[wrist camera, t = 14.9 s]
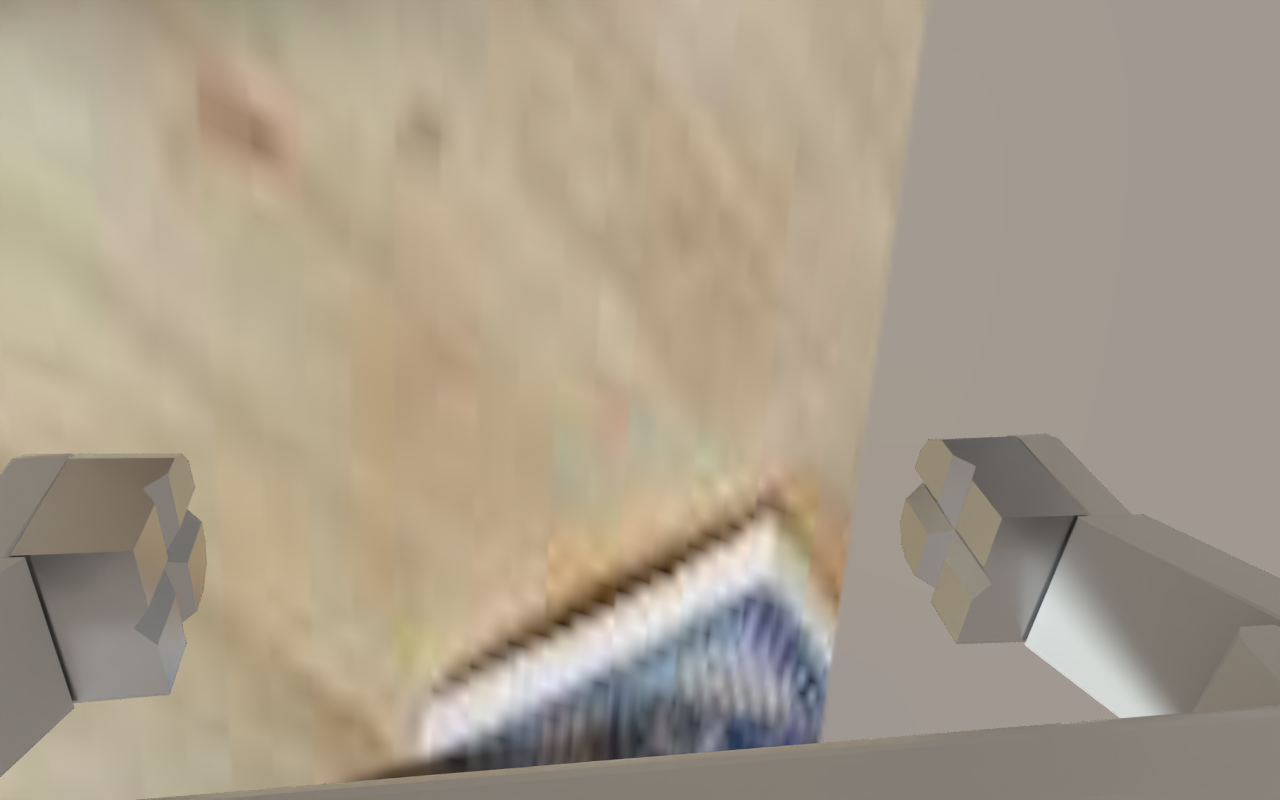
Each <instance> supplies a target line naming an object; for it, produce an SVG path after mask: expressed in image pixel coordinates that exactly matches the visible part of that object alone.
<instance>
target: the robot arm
mask: <svg viewBox="0 0 1280 800" xmlns="http://www.w3.org/2000/svg"><path fill="white" fill-rule="evenodd" d="M915 470H916V471H917V473H918V475H919V477H920V479H921V481H922V484H921V485H920V486H919V487H918V488H917V489H916V490H915V491H914V492H912V494H910V495H909V496H908V497H907V498H906V501H905V504H904V508H903V513H902V516H901V520H900V527H901V545H902V548H903V551H904V555H905V558H906V561H907V562H908V564H909V566H910V568H911V569H912V571H913V573H914V575H915V576H917V577H918V578H920V579H921V580H923V581H925V582H926V583H928V584H929V585H931V586H932V587H934V588H935V591H934V594H933V597H932V601H931V603H932V605H933V607H934V608H935V610H936V612H937V613H938V615H939V617H940V618H941V620H942V622H943V623H944V625H945V626H946V628H947V630H948V631H949V633H950V635H951V636H952V638H953V640H954V641H955V643H956V644H974V643H1001V642H1026V643H1025V646H1027V647H1028V648H1029V649H1030V650H1032V651H1033V652H1034V653H1036V654H1037V655H1038V656H1040V657H1041V658H1042V659H1043V660H1045V661H1046V662H1047V663H1049V664H1050V665H1051V666H1053V667H1054V668H1055V669H1057V670H1058V671H1059V672H1060V673H1062V674H1063V675H1065V676H1066V677H1067V678H1068V679H1070V680H1071V681H1072V682H1074V683H1075V684H1076V685H1077V686H1079V687H1080V688H1081V689H1083V690H1084V691H1086V692H1087V693H1088V694H1089V695H1091V696H1092V697H1093V698H1094V699H1096V700H1097V701H1098V702H1100V703H1101V704H1102V705H1104V706H1105V707H1106V708H1108V709H1109V710H1110V711H1111V712H1113V713H1114V714H1116V715H1117V716H1118V717H1119V718H1117V719H1105V720H1093V721H1081V722H1069V723H1057V724H1045V725H1034V726H1022V727H1009V728H996V729H984V730H972V731H961V732H948V733H936V734H924V735H912V736H900V737H888V738H876V739H865V740H852V741H839V742H827V743H815V744H802V745H790V746H778V747H765V748H753V749H741V750H729V751H716V752H704V753H692V754H679V755H667V756H655V757H643V758H630V759H618V760H606V761H594V762H581V763H569V764H557V765H545V766H533V767H521V768H509V769H497V770H485V771H474V772H462V773H450V774H438V775H426V776H414V777H402V778H390V779H379V780H367V781H355V782H343V783H331V784H319V785H307V786H296V787H284V788H272V789H260V790H248V791H236V792H224V793H213V794H201V795H189V796H176V797H164V798H151V799H138V800H1280V578H1278V577H1276V576H1274V575H1272V574H1270V573H1268V572H1265V571H1263V570H1261V569H1259V568H1257V567H1255V566H1253V565H1250V564H1248V563H1246V562H1244V561H1242V560H1240V559H1238V558H1236V557H1234V556H1231V555H1229V554H1227V553H1225V552H1223V551H1221V550H1219V549H1217V548H1214V547H1212V546H1210V545H1208V544H1206V543H1204V542H1201V541H1200V540H1197V539H1195V538H1193V537H1191V536H1189V535H1187V534H1185V533H1183V532H1180V531H1178V530H1176V529H1174V528H1172V527H1170V526H1168V525H1165V524H1163V523H1161V522H1159V521H1157V520H1155V519H1152V518H1150V517H1148V516H1146V515H1144V514H1138V515H1137V514H1136V515H1132V514H1131V513H1130V512H1129V511H1128V510H1127V509H1126V508H1125V507H1124V506H1123V505H1122V504H1121V503H1120V502H1119V501H1118V500H1117V499H1116V498H1115V497H1114V496H1113V495H1112V494H1111V493H1110V492H1109V491H1108V489H1107V488H1106V487H1105V486H1104V485H1103V484H1102V483H1101V482H1100V481H1099V480H1098V479H1097V478H1096V477H1095V476H1094V475H1093V474H1092V473H1091V472H1090V471H1089V470H1088V469H1087V468H1086V467H1085V466H1084V465H1083V463H1082V462H1081V461H1080V460H1078V458H1077V457H1076V456H1075V455H1074V454H1073V453H1072V452H1071V451H1070V450H1069V449H1068V448H1067V447H1066V446H1065V445H1064V444H1063V443H1062V442H1061V441H1060V440H1059V439H1058V438H1056V437H1053V436H1051V435H1049V434H1031V435H1030V434H1029V435H1011V436H1007V437H982V438H955V439H930V440H928V441H927V442H926V444H925V445H924V446H923V448H922V449H921V450H920V453H919V457H918V460H917V463H916V466H915ZM194 489H195V485H194V481H193V477H192V472H191V468H190V464H189V461H188V460H187V459H186V458H185V457H184V455H183V454H77V455H74V454H33V455H21V456H19V457H16V458H13V459H12V460H11V461H10V462H9V463H8V464H7V466H6V467H5V469H4V470H3V471H2V473H1V474H0V777H1V776H2V775H3V774H4V773H5V772H6V771H7V770H9V769H10V768H11V767H12V766H13V765H14V764H15V763H16V762H17V761H18V760H19V759H20V758H21V757H22V756H23V755H25V754H26V753H27V752H28V751H29V750H30V749H31V748H32V747H33V746H34V745H35V744H36V743H37V742H38V741H39V740H41V739H42V738H43V737H44V736H45V735H46V734H47V733H48V732H49V731H50V730H51V729H52V728H53V727H54V726H55V725H57V724H58V723H59V722H60V721H61V720H62V719H63V718H64V717H65V716H66V715H67V714H68V713H69V712H70V711H71V710H73V709H74V704H73V703H81V702H92V701H103V700H115V699H126V698H137V697H148V696H159V695H170V692H171V689H172V686H173V683H174V680H175V677H176V674H177V671H178V668H179V665H180V662H181V659H182V656H183V653H184V650H185V647H186V644H187V642H186V638H185V633H184V628H183V624H182V622H184V621H185V620H186V619H187V618H189V617H190V616H191V615H193V614H194V613H195V612H196V611H197V610H198V607H199V603H200V600H201V597H202V593H203V590H204V582H205V573H206V564H207V561H206V543H205V536H204V531H203V525H202V522H201V521H200V520H199V519H198V518H197V517H196V516H194V515H193V514H192V513H191V512H190V511H189V510H187V508H188V505H189V502H190V500H191V497H192V494H193V492H194Z"/></svg>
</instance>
